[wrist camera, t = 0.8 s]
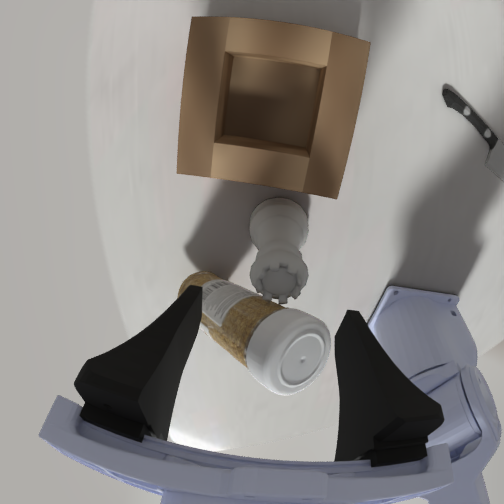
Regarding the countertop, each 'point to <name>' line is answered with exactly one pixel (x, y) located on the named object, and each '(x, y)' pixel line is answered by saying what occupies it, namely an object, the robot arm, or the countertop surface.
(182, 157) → the bore block
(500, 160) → the chef's knife
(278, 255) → the rook chess piece
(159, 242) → the countertop surface
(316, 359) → the sprinkles bottle
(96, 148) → the countertop surface
